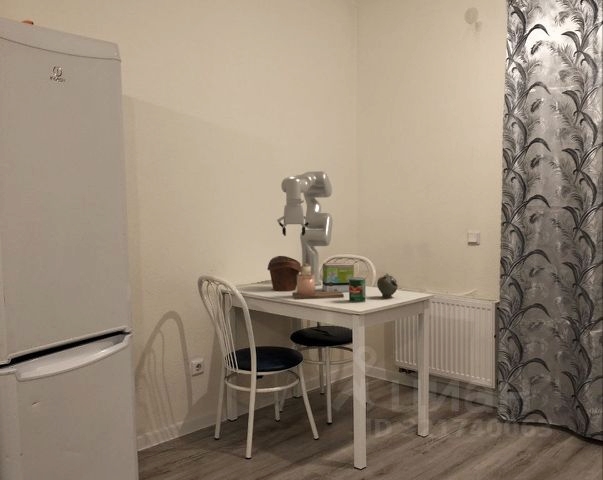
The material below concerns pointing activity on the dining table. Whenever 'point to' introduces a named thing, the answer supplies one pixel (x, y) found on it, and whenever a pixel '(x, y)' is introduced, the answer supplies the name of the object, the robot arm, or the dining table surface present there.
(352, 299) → the canned tomato
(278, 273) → the case
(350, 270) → the coffee box
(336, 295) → the board
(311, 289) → the jar
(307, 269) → the stopper
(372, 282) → the dining table surface
